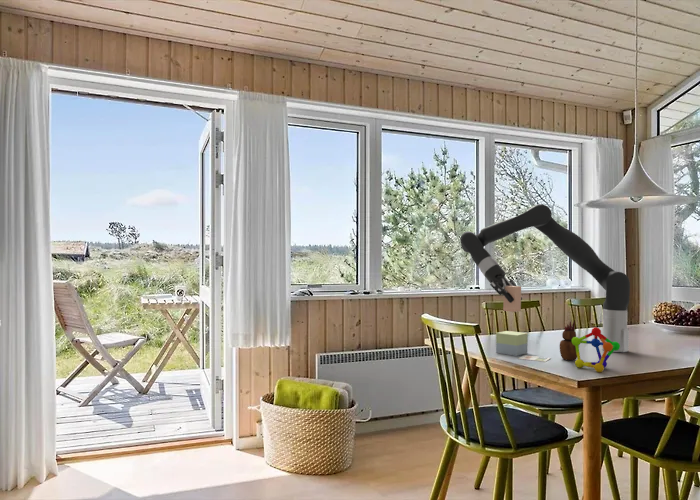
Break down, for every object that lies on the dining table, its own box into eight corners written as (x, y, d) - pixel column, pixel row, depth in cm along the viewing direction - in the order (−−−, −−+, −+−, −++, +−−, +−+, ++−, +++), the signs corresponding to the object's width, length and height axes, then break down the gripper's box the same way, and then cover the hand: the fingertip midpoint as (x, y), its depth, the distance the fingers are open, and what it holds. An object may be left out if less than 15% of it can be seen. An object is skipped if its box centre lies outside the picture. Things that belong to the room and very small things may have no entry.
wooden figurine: (578, 359, 213) (578, 320, 213) (579, 361, 208) (579, 321, 208) (559, 357, 215) (559, 319, 215) (559, 360, 210) (560, 320, 210)
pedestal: (527, 353, 225) (527, 333, 225) (516, 355, 218) (517, 335, 218) (506, 350, 231) (507, 330, 231) (496, 352, 224) (496, 332, 224)
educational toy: (623, 372, 195) (628, 330, 194) (606, 377, 187) (610, 333, 186) (580, 361, 207) (585, 321, 206) (563, 365, 198) (567, 324, 197)
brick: (520, 311, 225) (521, 286, 225) (514, 311, 221) (515, 286, 221) (509, 310, 228) (509, 285, 228) (503, 310, 225) (503, 286, 225)
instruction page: (550, 358, 213) (550, 357, 213) (545, 361, 206) (545, 361, 206) (524, 355, 219) (524, 354, 219) (518, 358, 212) (518, 357, 212)
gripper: (486, 263, 225) (512, 295, 216) (506, 263, 235) (532, 294, 226) (475, 276, 229) (500, 308, 220) (495, 275, 239) (520, 306, 230)
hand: (516, 300), depth 223 cm, fingers closed on brick, 5 cm apart
